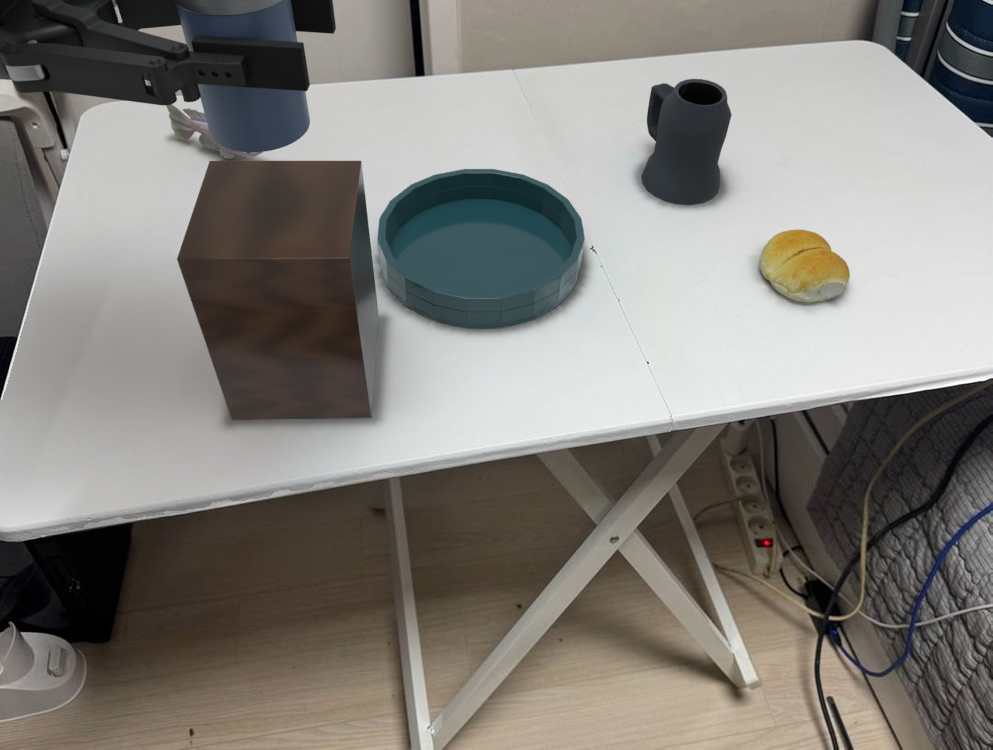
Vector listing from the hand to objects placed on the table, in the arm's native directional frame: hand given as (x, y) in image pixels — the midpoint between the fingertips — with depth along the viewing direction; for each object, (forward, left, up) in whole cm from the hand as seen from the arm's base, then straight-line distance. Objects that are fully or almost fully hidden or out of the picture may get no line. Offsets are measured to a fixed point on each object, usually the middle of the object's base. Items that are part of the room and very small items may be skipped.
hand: (318, 37), depth 52 cm
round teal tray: (+11, +15, -31) cm, 37 cm away
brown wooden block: (-5, 0, -31) cm, 32 cm away
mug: (+34, +30, -32) cm, 55 cm away
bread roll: (+44, +12, -32) cm, 55 cm away
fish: (-19, +35, -32) cm, 50 cm away
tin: (-5, +1, -7) cm, 8 cm away
